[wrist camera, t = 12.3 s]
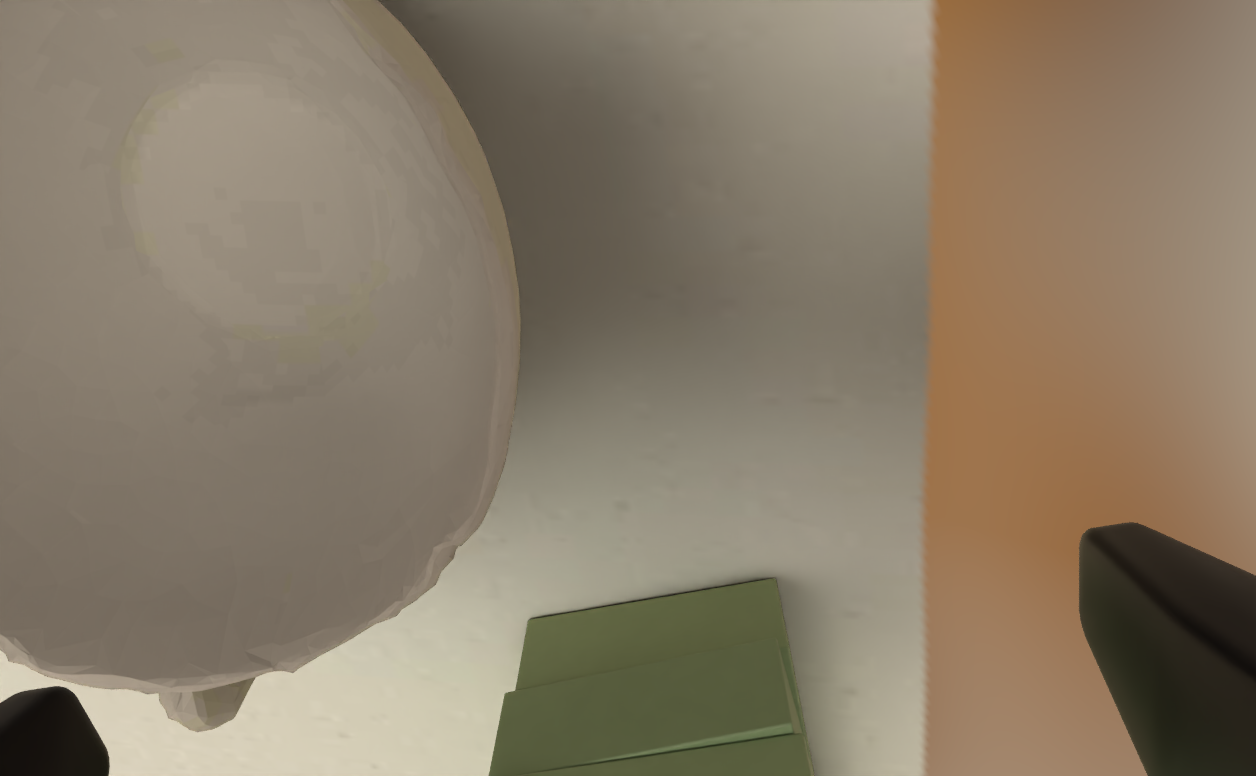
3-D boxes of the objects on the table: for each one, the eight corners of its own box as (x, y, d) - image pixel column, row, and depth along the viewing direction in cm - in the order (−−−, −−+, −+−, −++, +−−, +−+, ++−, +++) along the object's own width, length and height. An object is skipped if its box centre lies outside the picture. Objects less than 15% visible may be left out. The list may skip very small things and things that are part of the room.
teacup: (-125, -165, 17) (-702, -246, 10) (567, -137, 17) (506, -199, 10) (58, 536, 23) (-208, 800, 16) (562, 557, 23) (521, 832, 16)
